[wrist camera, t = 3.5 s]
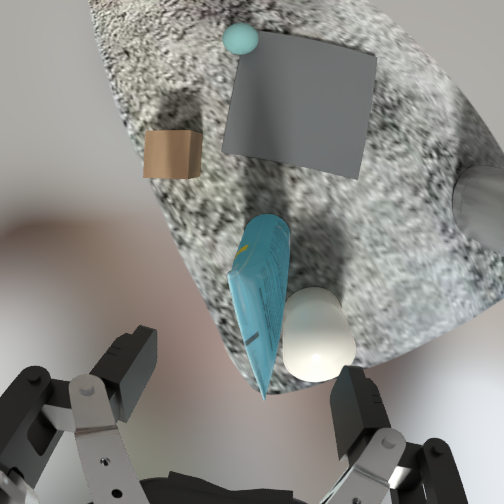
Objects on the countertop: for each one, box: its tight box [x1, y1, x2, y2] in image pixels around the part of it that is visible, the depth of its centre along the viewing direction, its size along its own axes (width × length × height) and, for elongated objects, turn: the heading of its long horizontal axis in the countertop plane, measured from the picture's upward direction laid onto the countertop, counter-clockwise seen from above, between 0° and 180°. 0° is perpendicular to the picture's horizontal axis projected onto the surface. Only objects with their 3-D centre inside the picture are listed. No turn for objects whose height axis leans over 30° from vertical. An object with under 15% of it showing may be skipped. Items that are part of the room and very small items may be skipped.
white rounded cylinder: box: [282, 287, 356, 382], centre depth 30 cm, size 7×7×8 cm
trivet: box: [222, 31, 377, 180], centre depth 26 cm, size 14×14×1 cm
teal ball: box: [223, 23, 259, 55], centre depth 23 cm, size 4×4×4 cm
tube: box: [227, 214, 291, 400], centre depth 22 cm, size 7×5×19 cm, turn 18°
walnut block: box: [143, 130, 203, 179], centre depth 27 cm, size 4×4×4 cm
